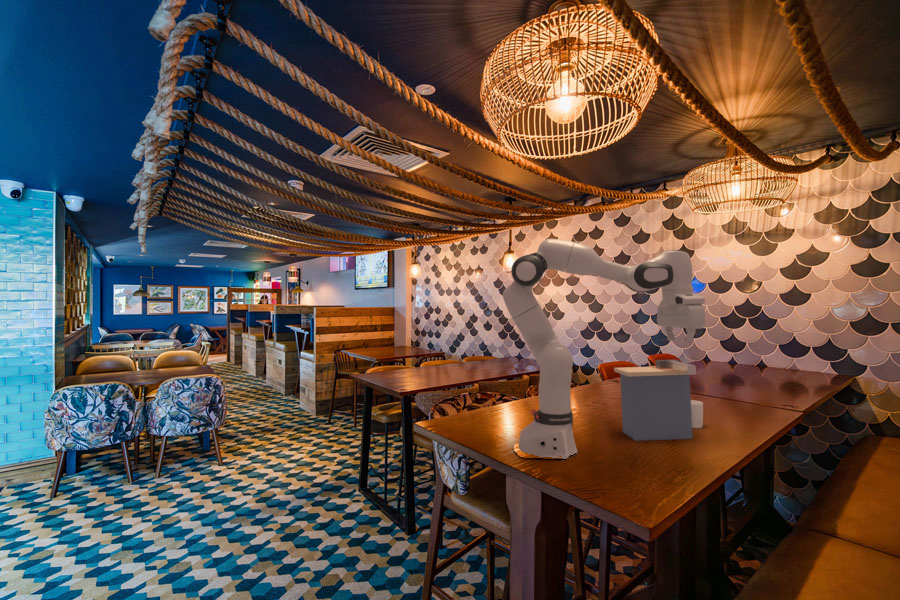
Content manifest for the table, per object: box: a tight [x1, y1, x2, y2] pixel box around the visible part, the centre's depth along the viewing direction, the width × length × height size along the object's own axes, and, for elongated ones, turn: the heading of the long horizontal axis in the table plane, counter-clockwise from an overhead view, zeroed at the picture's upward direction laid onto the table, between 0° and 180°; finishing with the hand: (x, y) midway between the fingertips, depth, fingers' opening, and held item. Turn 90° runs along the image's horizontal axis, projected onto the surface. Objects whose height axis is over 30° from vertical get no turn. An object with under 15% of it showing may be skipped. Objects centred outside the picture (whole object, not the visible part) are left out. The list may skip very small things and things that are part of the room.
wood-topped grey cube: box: [613, 365, 694, 442], centre depth 148 cm, size 26×12×26 cm, turn 90°
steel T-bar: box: [655, 359, 697, 375], centre depth 142 cm, size 8×16×3 cm, turn 1°
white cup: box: [691, 399, 704, 429], centre depth 158 cm, size 8×8×10 cm
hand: (679, 341), depth 123 cm, fingers open, 8 cm apart
